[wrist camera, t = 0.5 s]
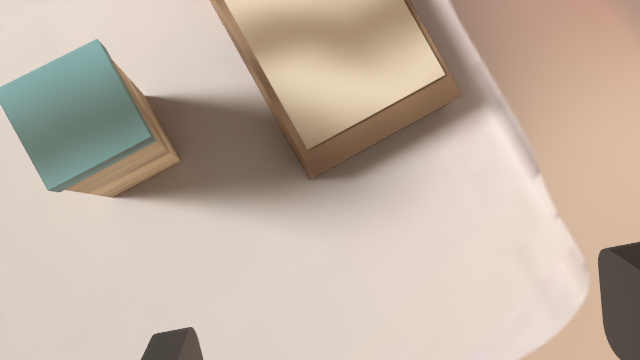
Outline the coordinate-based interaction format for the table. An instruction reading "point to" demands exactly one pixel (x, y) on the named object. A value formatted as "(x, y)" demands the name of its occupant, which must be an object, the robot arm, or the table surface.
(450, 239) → the table surface
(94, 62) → the teal topped tan block
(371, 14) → the dock
